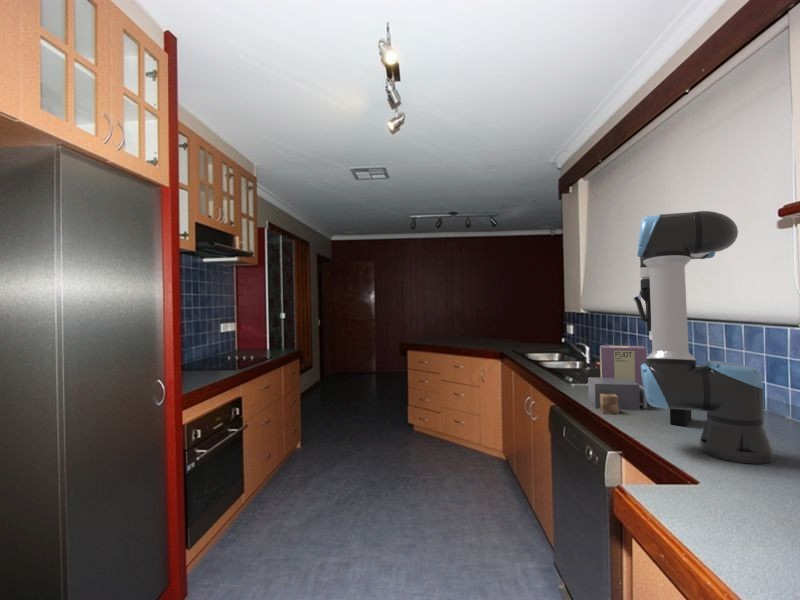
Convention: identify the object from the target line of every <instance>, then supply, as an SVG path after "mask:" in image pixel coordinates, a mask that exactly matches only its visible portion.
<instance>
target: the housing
mask: <svg viewBox="0 0 800 600" xmlns="http://www.w3.org/2000/svg"><path fill="white" fill-rule="evenodd" d="M587 383H588V384H587V388H588V402H590V404H591V405H592V404H593V405H594V406H593V405H592V406H593V407H594V408H595V409H600V394H615V395H616V396H618V410H639V411H640V410H641V406H640V396H639V384H637V383H636V382H634V381H632V380H631V379H629V378H601V377H588V378H587Z"/></svg>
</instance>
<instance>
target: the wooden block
mask: <svg viewBox="0 0 800 600" xmlns="http://www.w3.org/2000/svg"><path fill="white" fill-rule="evenodd" d="M599 410H600V412H601V413H602V414H604V415H605V414H608V415H619V409H618V396H616V395H615V394H600V408H599Z"/></svg>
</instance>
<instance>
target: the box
mask: <svg viewBox="0 0 800 600" xmlns="http://www.w3.org/2000/svg"><path fill="white" fill-rule="evenodd" d="M646 358H647V347H645V346H643V345H602V344H601V345H599V360H600V361H599V365H600V366H599V368H600V369H599V370H600V378H629V379H631V380H632V381H634V382H636V383H638V384H639V385H641V386H642V387H643V381H642V375H641V365H642V364H647V362H646Z"/></svg>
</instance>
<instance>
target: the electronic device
mask: <svg viewBox="0 0 800 600" xmlns="http://www.w3.org/2000/svg"><path fill="white" fill-rule="evenodd" d="M669 421H670V425H673V426H674V425H675V426H679V427H680V426H681V427H687V426H688V424H689V423H690V422H692V410H685V409H670V408H669Z"/></svg>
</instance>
